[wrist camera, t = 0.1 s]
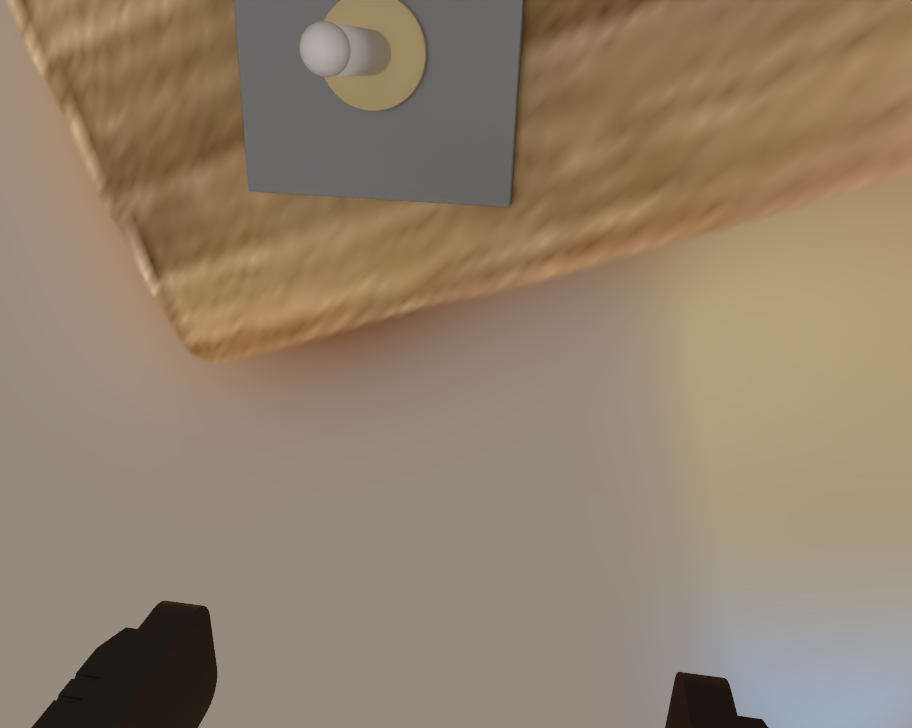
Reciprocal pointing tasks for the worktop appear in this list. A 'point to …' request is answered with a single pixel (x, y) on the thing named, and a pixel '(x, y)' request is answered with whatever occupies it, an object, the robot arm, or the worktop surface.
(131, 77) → the worktop surface
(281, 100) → the post base
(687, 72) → the worktop surface
